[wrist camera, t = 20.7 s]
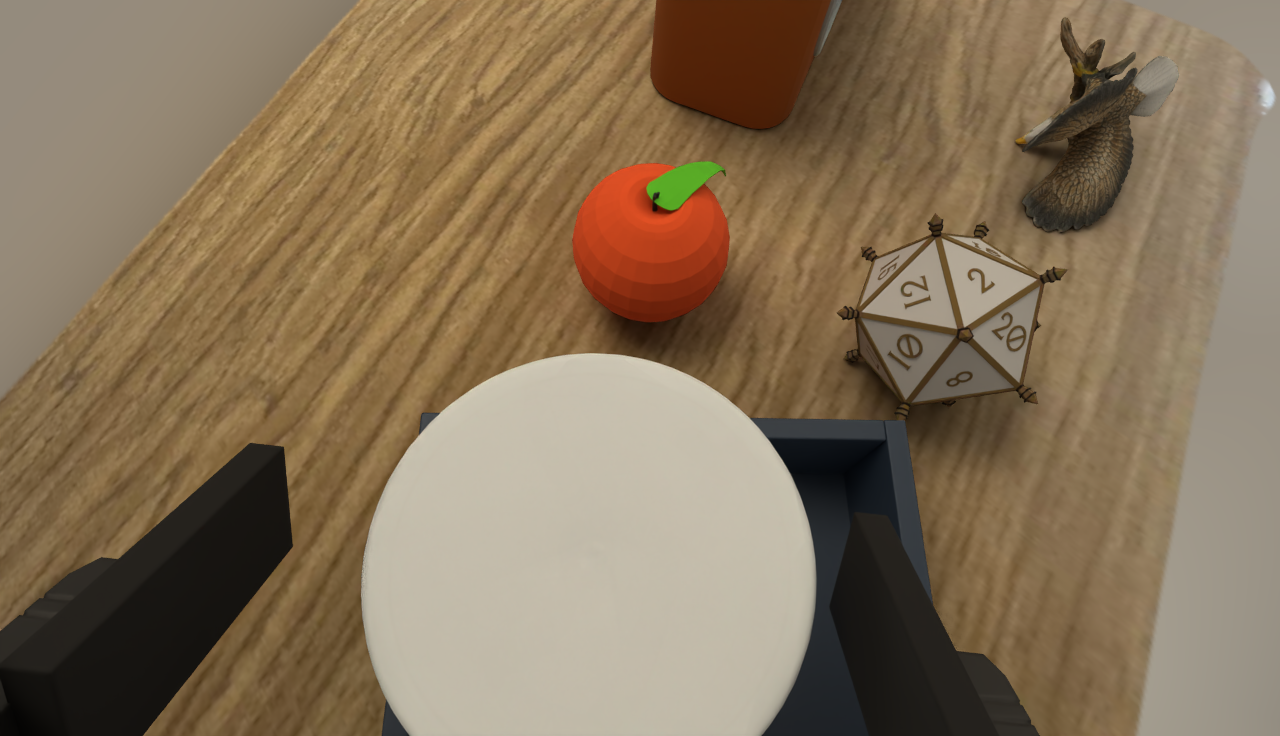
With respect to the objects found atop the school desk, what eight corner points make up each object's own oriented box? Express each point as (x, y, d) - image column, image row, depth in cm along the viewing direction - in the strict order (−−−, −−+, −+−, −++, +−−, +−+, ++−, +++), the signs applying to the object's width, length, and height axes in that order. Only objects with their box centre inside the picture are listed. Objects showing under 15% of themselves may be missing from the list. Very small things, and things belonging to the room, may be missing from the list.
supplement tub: (760, 686, 27) (923, 707, 14) (522, 801, 25) (434, 959, 12) (659, 457, 30) (708, 288, 17) (441, 543, 28) (299, 432, 15)
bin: (400, 962, 24) (342, 1050, 19) (452, 457, 31) (420, 411, 25) (910, 951, 25) (999, 1033, 19) (852, 462, 32) (905, 419, 26)
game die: (908, 370, 38) (1117, 294, 31) (880, 488, 32) (1129, 428, 25) (809, 242, 35) (1012, 129, 28) (760, 345, 30) (1000, 235, 23)
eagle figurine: (987, 61, 40) (974, 159, 35) (1130, -24, 35) (1138, 77, 30) (1055, 156, 43) (1051, 259, 38) (1196, 91, 38) (1214, 200, 33)
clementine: (663, 188, 37) (677, 85, 30) (760, 275, 35) (797, 186, 29) (545, 277, 34) (532, 187, 28) (643, 376, 33) (654, 303, 26)
